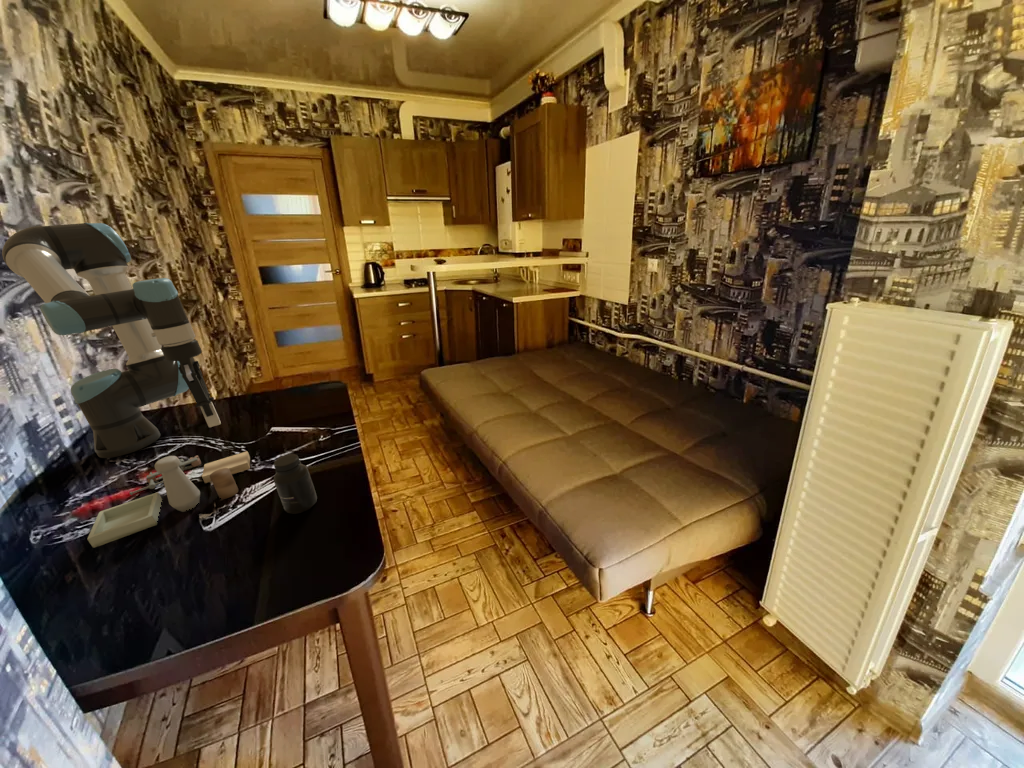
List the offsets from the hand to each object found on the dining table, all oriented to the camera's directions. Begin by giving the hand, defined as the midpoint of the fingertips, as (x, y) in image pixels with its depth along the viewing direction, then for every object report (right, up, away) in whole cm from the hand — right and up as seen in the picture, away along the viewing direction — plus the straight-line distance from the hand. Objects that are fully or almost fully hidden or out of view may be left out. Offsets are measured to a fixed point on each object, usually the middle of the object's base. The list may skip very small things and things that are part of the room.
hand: (214, 424), depth 110 cm
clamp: (-11, -14, -2) cm, 18 cm away
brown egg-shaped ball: (+13, -15, -13) cm, 23 cm away
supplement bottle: (+34, -16, -19) cm, 42 cm away
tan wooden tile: (+5, -12, -2) cm, 13 cm away
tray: (-5, -20, -19) cm, 28 cm away
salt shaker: (+5, -18, -16) cm, 24 cm away
